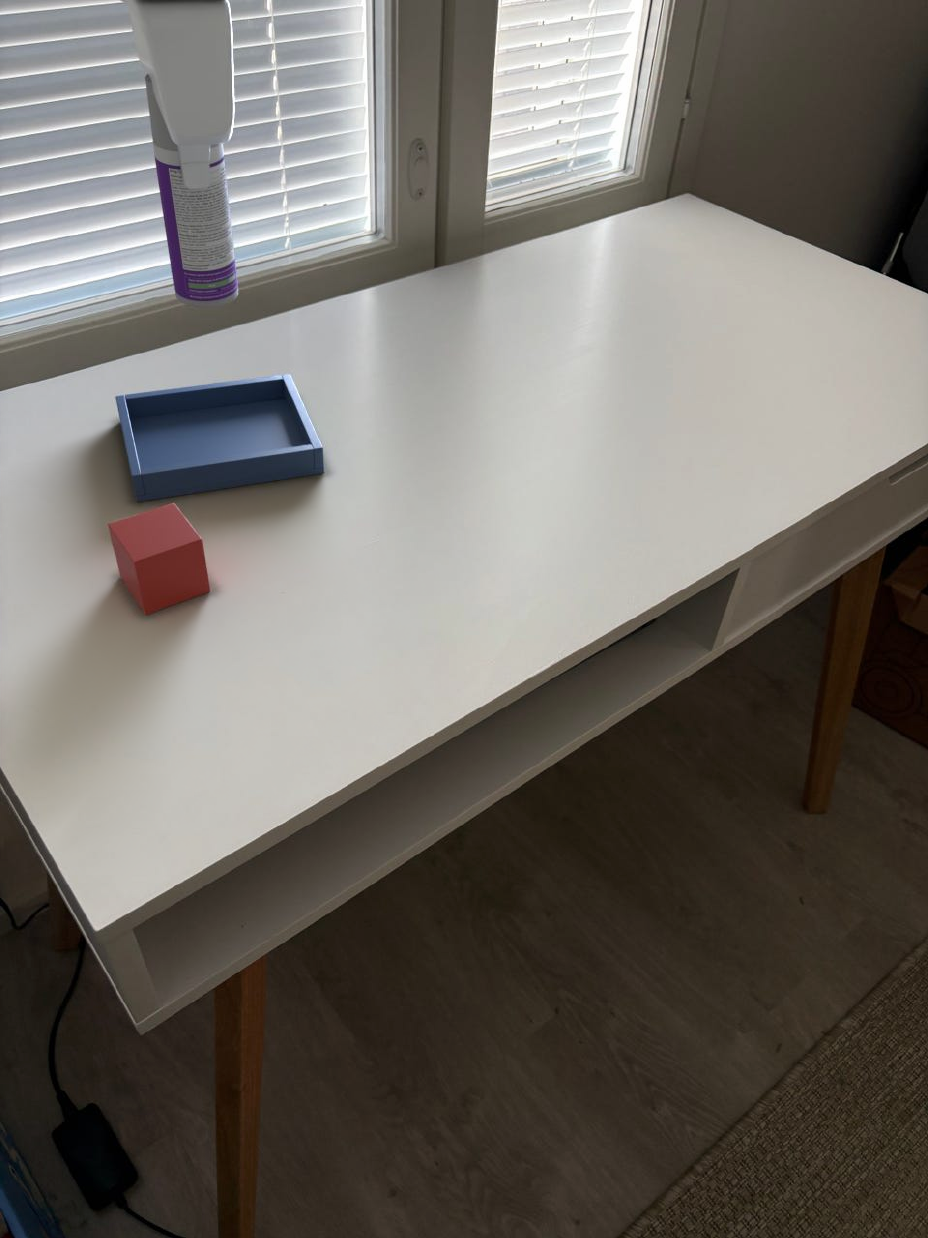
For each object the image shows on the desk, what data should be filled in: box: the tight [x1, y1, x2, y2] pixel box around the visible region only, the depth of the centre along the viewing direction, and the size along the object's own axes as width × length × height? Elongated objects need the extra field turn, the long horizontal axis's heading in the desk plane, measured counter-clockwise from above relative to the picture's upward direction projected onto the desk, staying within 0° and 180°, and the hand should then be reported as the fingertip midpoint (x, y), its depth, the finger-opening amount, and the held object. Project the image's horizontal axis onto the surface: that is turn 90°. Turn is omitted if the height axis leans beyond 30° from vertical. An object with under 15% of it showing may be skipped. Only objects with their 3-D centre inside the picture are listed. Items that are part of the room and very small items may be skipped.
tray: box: [114, 373, 325, 503], centre depth 88 cm, size 16×13×3 cm
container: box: [144, 74, 239, 308], centre depth 71 cm, size 5×5×15 cm
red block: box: [107, 502, 211, 616], centre depth 73 cm, size 5×5×5 cm
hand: (190, 169), depth 70 cm, fingers closed on container, 5 cm apart
